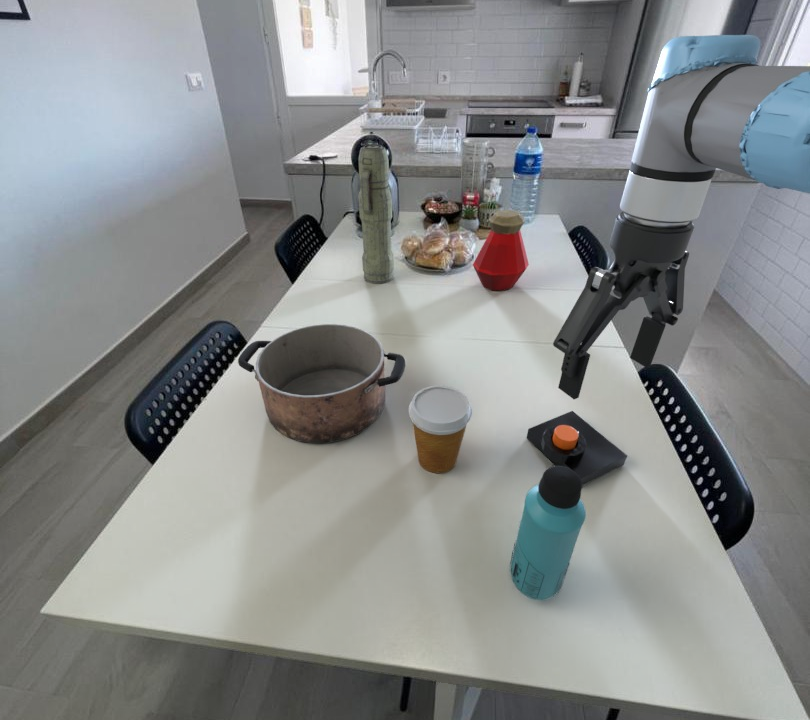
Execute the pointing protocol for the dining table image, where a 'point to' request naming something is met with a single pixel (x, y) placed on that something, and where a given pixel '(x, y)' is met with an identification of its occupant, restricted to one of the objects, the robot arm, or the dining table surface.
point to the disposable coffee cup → (439, 426)
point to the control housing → (578, 448)
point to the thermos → (375, 214)
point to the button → (565, 437)
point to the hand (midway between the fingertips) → (605, 376)
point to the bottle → (502, 252)
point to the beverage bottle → (547, 533)
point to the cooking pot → (322, 381)
